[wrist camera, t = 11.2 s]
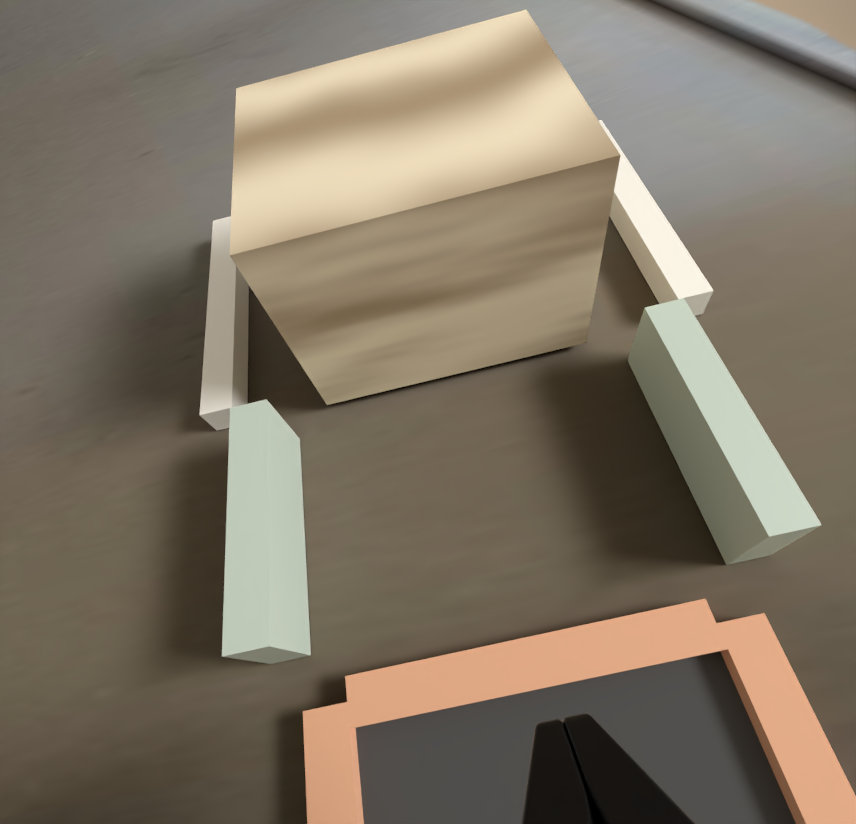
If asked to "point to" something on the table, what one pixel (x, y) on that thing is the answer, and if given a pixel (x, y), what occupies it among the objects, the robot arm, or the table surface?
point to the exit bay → (229, 290)
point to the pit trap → (572, 695)
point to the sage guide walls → (673, 410)
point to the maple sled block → (422, 207)
